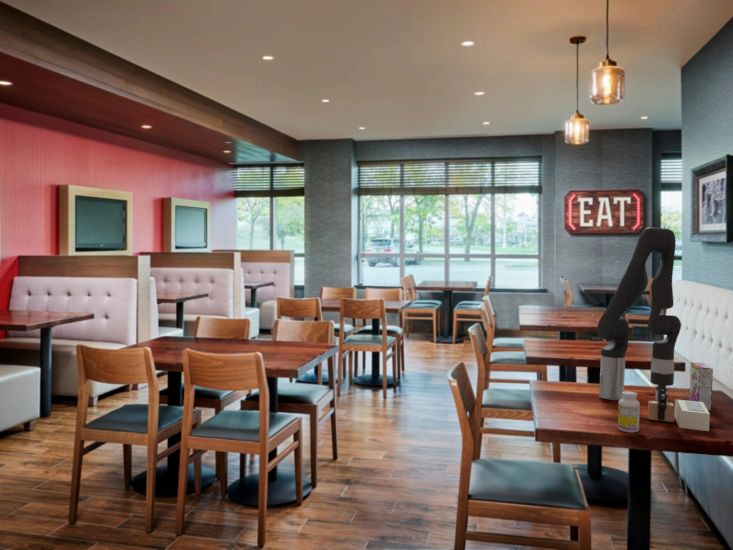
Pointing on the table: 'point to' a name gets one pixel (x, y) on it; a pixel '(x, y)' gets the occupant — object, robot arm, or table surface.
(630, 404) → the supplement bottle
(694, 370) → the candy bar box
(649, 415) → the tan cardboard box
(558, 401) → the table surface
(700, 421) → the block
